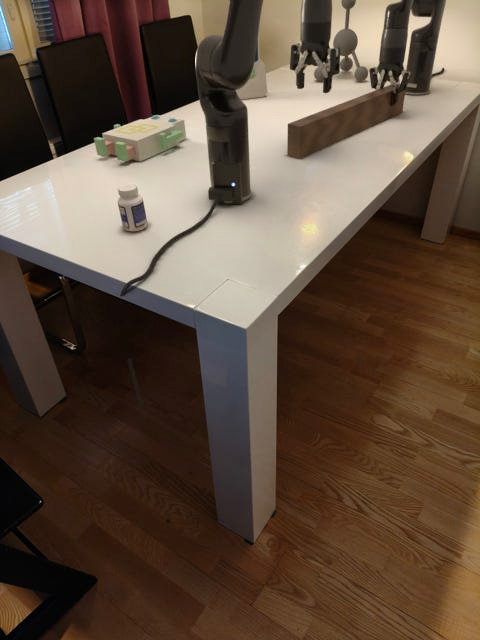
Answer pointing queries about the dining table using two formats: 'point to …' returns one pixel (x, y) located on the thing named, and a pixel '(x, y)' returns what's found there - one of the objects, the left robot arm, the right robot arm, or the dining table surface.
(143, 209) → the pill bottle
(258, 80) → the electronic device
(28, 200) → the dining table surface
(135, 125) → the decorative block
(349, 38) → the molecular model
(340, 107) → the beam
